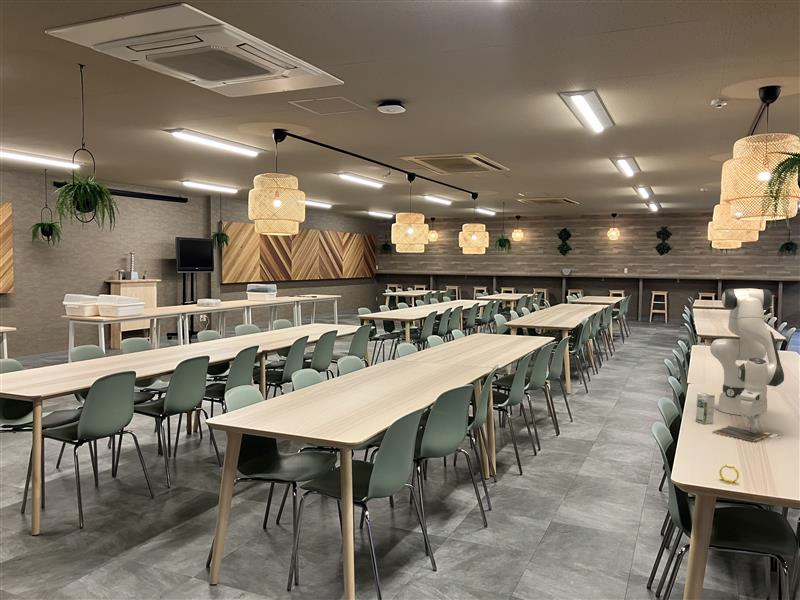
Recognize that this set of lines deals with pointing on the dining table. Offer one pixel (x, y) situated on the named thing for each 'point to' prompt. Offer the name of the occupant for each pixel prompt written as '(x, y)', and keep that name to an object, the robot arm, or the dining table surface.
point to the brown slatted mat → (741, 434)
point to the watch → (729, 467)
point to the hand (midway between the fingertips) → (753, 423)
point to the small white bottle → (754, 425)
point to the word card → (771, 434)
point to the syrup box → (705, 408)
